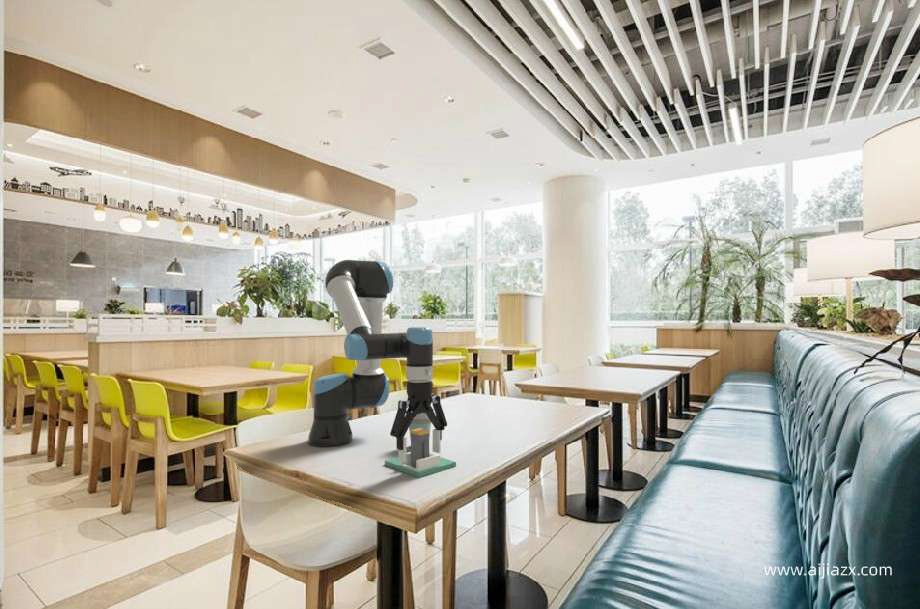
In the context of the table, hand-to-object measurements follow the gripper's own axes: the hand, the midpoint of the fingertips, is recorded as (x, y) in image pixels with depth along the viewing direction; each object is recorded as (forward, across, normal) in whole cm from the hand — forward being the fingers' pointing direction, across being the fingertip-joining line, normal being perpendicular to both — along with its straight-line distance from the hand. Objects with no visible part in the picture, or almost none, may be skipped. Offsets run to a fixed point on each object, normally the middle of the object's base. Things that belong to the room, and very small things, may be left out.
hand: (420, 456), depth 134 cm
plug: (+3, 0, 0) cm, 3 cm away
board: (+4, +2, +3) cm, 5 cm away
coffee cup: (+4, +16, +19) cm, 25 cm away
